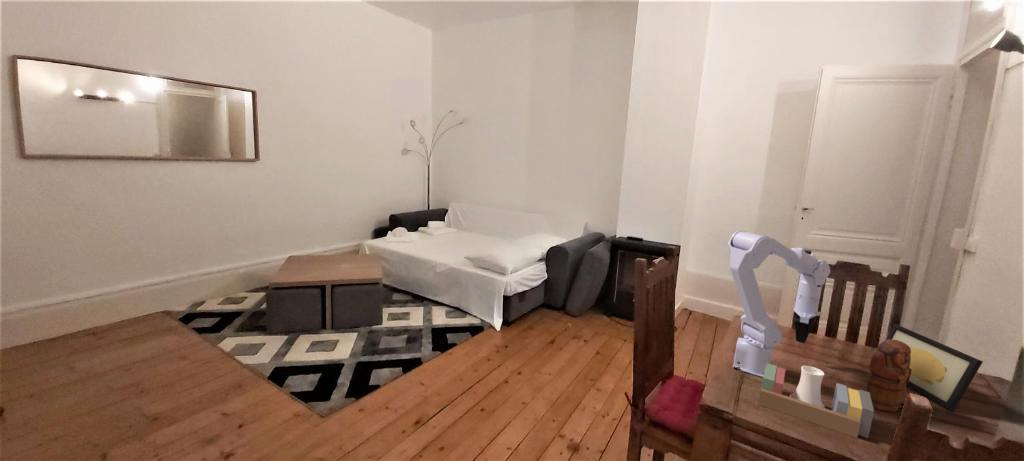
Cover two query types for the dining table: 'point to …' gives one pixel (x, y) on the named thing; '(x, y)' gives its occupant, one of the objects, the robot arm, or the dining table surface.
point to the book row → (847, 408)
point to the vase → (809, 386)
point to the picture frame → (936, 368)
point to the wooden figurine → (889, 375)
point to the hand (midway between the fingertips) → (800, 337)
